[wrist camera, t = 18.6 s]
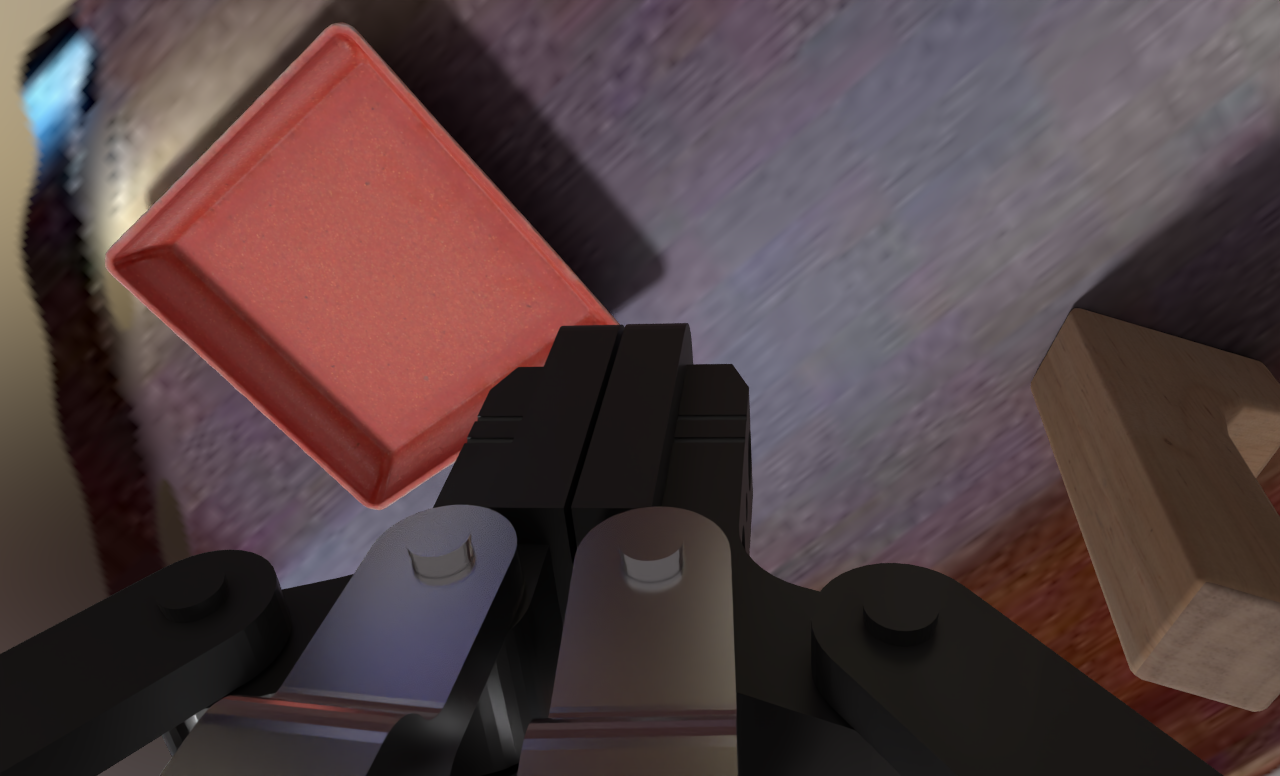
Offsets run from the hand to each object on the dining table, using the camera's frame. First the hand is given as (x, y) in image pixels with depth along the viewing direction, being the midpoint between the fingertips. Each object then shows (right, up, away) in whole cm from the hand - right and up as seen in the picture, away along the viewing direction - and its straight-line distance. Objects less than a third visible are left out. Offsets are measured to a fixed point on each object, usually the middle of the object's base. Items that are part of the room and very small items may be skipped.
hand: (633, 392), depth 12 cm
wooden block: (+23, +1, +34) cm, 41 cm away
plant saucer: (-12, +6, +37) cm, 40 cm away
